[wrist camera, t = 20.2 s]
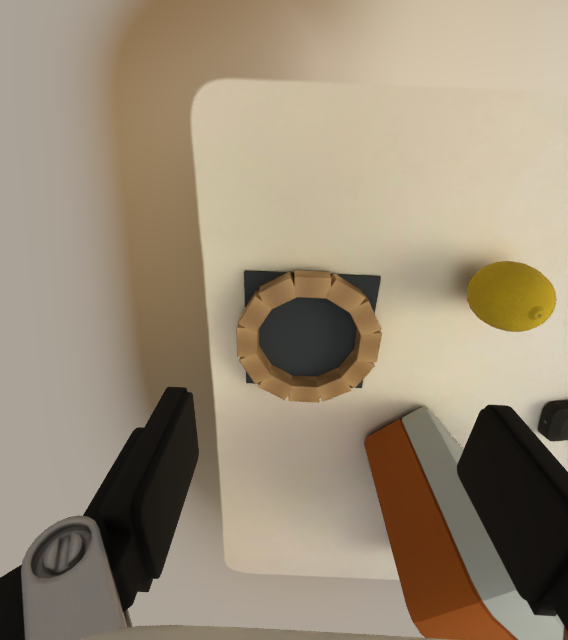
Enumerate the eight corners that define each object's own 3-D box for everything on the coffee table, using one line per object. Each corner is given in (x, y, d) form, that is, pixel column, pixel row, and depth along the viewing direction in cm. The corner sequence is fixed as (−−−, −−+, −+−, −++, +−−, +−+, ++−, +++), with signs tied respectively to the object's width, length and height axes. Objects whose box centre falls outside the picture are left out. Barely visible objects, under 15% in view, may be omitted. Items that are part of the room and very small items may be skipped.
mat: (246, 381, 36) (246, 383, 36) (244, 270, 31) (244, 271, 30) (361, 385, 36) (361, 388, 36) (379, 275, 30) (380, 277, 30)
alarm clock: (359, 434, 39) (419, 673, 21) (422, 399, 37) (556, 635, 18) (433, 511, 45) (532, 751, 26) (492, 485, 42) (648, 730, 24)
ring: (241, 387, 36) (238, 399, 34) (237, 267, 30) (234, 274, 28) (364, 392, 36) (368, 404, 34) (386, 273, 30) (392, 280, 28)
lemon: (447, 264, 30) (497, 294, 23) (510, 243, 29) (582, 268, 22) (456, 314, 32) (503, 356, 25) (514, 296, 31) (581, 335, 24)
